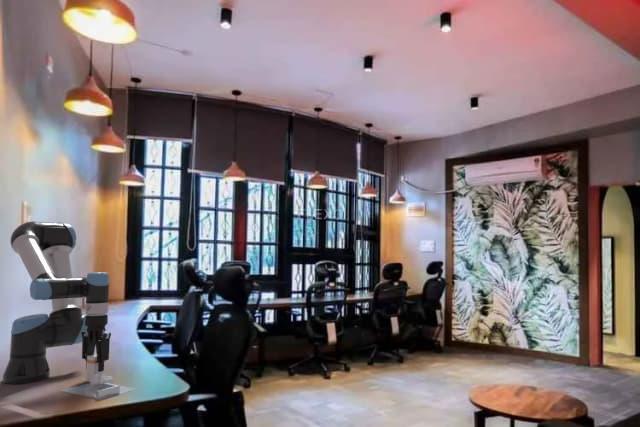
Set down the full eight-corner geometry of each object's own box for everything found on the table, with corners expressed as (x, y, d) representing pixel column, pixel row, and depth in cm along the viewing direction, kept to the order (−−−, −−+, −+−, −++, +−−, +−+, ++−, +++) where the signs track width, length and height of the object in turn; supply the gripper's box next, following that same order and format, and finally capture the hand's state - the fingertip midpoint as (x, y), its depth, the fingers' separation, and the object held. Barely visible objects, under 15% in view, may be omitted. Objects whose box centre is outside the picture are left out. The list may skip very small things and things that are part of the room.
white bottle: (85, 384, 170) (86, 355, 170) (95, 381, 173) (96, 353, 174) (92, 385, 168) (94, 357, 169) (102, 383, 171) (104, 355, 172)
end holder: (81, 395, 152) (82, 387, 152) (103, 389, 159) (103, 382, 159) (98, 399, 148) (98, 391, 149) (119, 393, 155) (119, 385, 156)
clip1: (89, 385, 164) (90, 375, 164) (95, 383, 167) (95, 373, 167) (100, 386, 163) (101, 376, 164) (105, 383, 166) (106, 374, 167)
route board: (60, 394, 157) (60, 390, 157) (97, 384, 169) (97, 381, 170) (99, 403, 148) (100, 399, 148) (136, 392, 160) (136, 389, 160)
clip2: (101, 386, 162) (101, 377, 163) (110, 385, 164) (111, 376, 164) (102, 389, 159) (103, 379, 159) (112, 388, 160) (112, 378, 161)
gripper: (72, 314, 174) (69, 379, 171) (103, 316, 166) (101, 384, 163) (90, 312, 180) (88, 375, 178) (121, 314, 172) (119, 380, 170)
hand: (94, 379), depth 170 cm, fingers closed on white bottle, 4 cm apart
